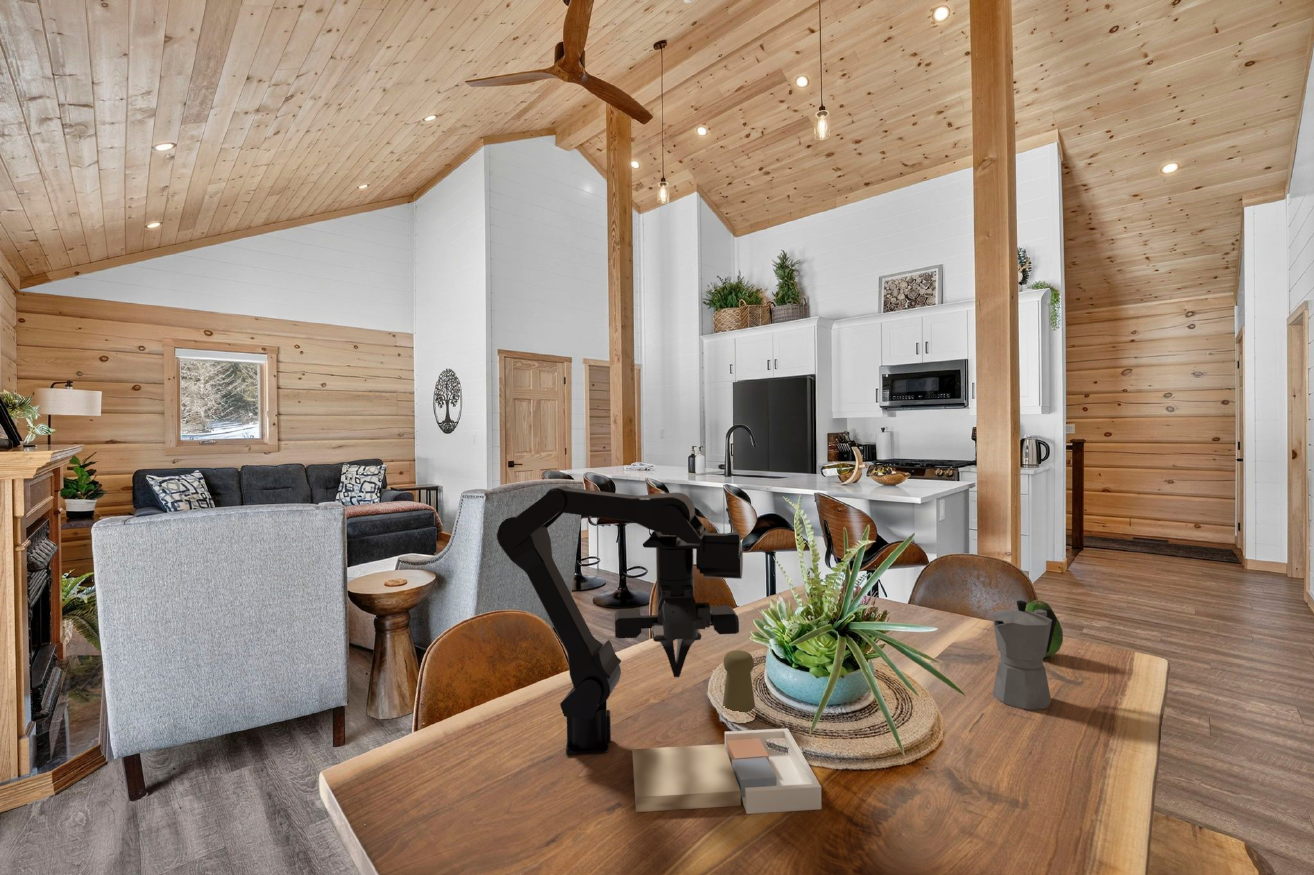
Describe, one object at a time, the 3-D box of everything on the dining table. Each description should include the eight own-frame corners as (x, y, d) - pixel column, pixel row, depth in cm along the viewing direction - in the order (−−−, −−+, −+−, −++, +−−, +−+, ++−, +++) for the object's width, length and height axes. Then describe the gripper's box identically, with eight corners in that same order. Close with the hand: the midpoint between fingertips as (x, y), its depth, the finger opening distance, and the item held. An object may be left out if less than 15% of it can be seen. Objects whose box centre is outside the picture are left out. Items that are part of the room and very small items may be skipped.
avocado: (1011, 653, 135) (1011, 598, 134) (1034, 647, 138) (1035, 593, 138) (1047, 666, 128) (1048, 608, 127) (1071, 659, 131) (1072, 602, 131)
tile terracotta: (735, 774, 90) (735, 758, 90) (727, 756, 95) (727, 740, 95) (769, 771, 91) (768, 755, 90) (759, 753, 96) (759, 738, 95)
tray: (746, 813, 82) (746, 791, 82) (724, 750, 97) (724, 731, 97) (821, 809, 82) (821, 786, 82) (787, 747, 98) (787, 728, 98)
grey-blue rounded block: (740, 797, 85) (740, 779, 85) (732, 776, 90) (732, 759, 90) (776, 794, 85) (776, 776, 85) (766, 773, 90) (766, 757, 90)
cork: (755, 724, 105) (755, 660, 105) (720, 721, 106) (719, 658, 106) (757, 708, 111) (756, 647, 111) (723, 705, 112) (722, 645, 112)
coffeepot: (1020, 717, 106) (1020, 612, 106) (972, 695, 115) (972, 598, 115) (1079, 700, 112) (1080, 601, 112) (1030, 680, 121) (1030, 588, 121)
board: (635, 812, 82) (635, 797, 82) (632, 762, 94) (632, 749, 94) (740, 805, 83) (740, 790, 83) (724, 756, 95) (724, 744, 95)
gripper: (614, 592, 87) (616, 702, 88) (746, 588, 89) (747, 696, 89) (614, 572, 98) (615, 670, 99) (731, 569, 100) (732, 665, 100)
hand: (676, 676), depth 96 cm, fingers closed
